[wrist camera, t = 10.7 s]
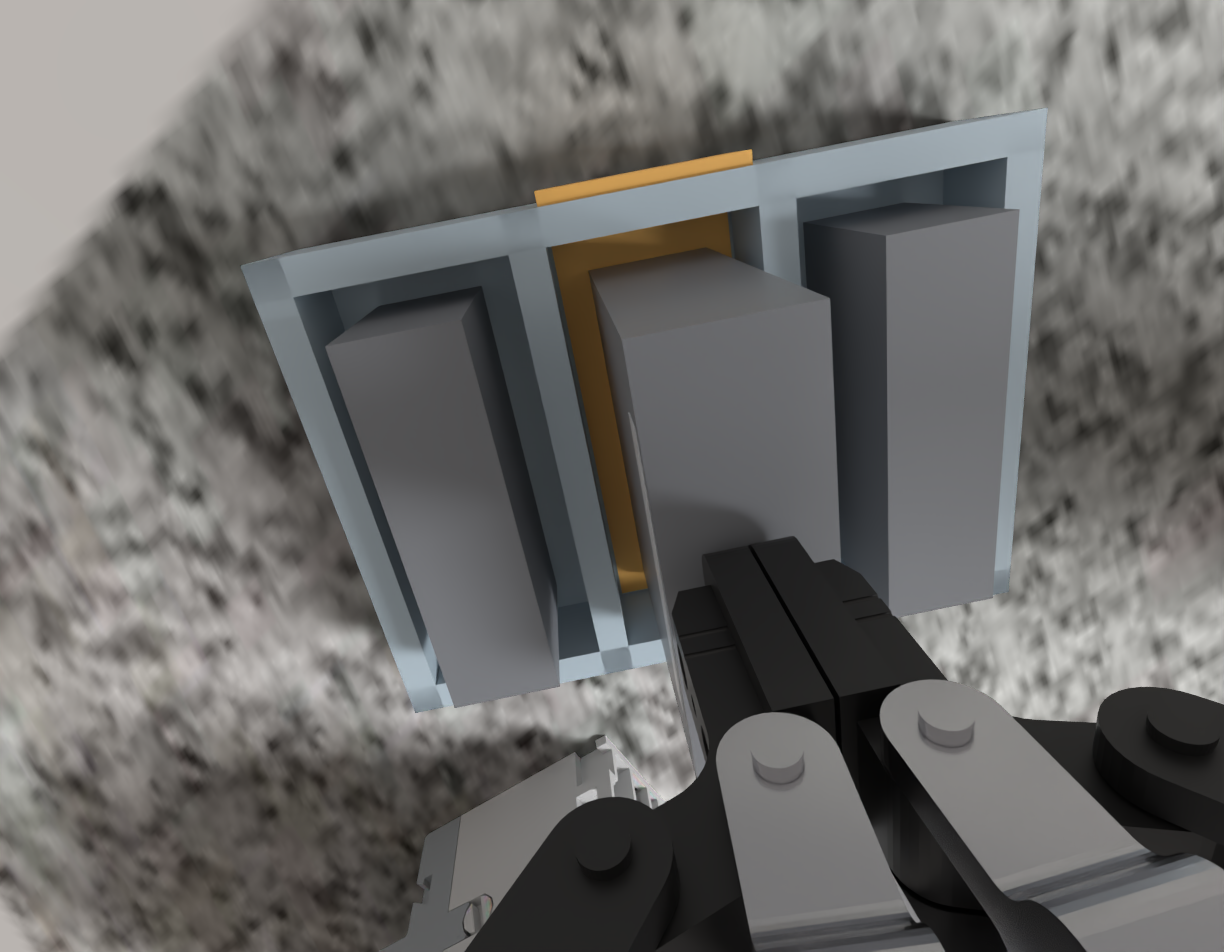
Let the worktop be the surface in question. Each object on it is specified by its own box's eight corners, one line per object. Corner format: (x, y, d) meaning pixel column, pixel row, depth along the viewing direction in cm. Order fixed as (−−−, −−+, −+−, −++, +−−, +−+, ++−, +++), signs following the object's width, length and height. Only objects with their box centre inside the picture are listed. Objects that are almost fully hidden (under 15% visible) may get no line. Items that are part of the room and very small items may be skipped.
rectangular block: (706, 246, 17) (831, 297, 10) (741, 553, 20) (850, 758, 13) (587, 270, 17) (620, 340, 9) (643, 572, 20) (698, 790, 13)
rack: (954, 108, 17) (1125, 77, 12) (941, 532, 22) (1057, 635, 17) (292, 237, 17) (186, 260, 12) (434, 635, 22) (401, 770, 17)
